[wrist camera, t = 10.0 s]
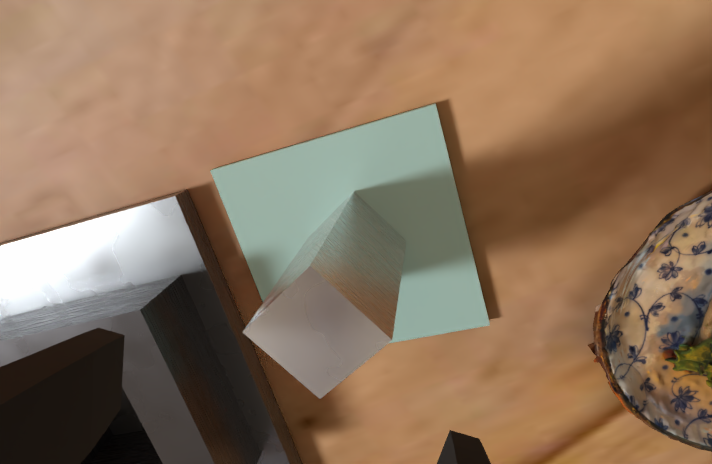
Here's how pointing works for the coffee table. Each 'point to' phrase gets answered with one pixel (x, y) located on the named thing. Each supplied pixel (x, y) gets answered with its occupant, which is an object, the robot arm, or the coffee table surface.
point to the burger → (664, 327)
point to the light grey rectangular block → (334, 298)
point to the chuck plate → (142, 260)
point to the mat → (383, 194)
